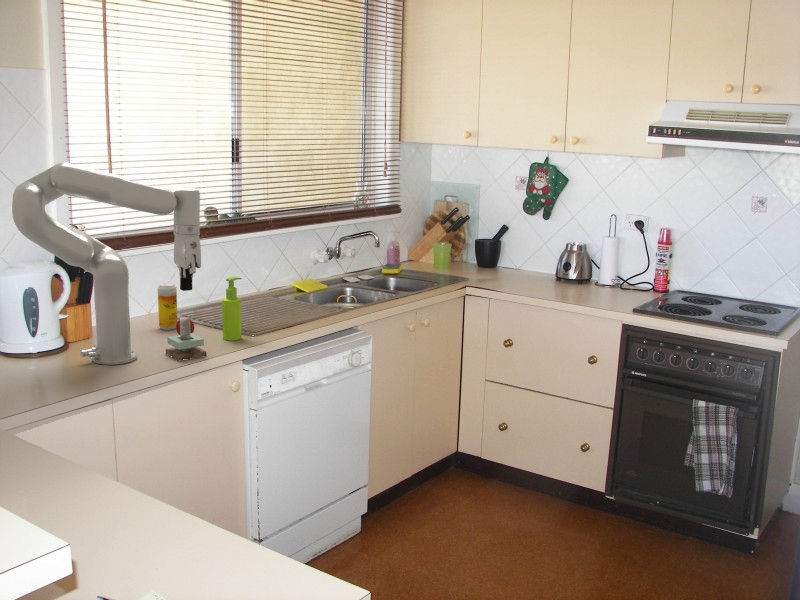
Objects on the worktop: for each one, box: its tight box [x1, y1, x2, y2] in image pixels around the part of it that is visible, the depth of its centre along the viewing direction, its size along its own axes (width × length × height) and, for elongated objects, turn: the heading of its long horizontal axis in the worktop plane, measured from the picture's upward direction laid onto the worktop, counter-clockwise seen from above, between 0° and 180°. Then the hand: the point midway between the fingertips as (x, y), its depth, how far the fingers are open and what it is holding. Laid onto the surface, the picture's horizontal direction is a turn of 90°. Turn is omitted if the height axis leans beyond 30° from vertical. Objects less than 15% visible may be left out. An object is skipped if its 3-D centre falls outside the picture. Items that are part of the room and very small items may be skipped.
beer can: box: [157, 282, 179, 331], centre depth 291 cm, size 6×6×15 cm
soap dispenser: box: [221, 276, 243, 341], centre depth 281 cm, size 6×7×20 cm
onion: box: [175, 313, 196, 335], centre depth 280 cm, size 6×6×8 cm
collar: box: [167, 333, 205, 350], centre depth 262 cm, size 8×8×2 cm
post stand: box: [165, 316, 208, 361], centre depth 262 cm, size 9×9×12 cm
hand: (186, 289), depth 262 cm, fingers closed
